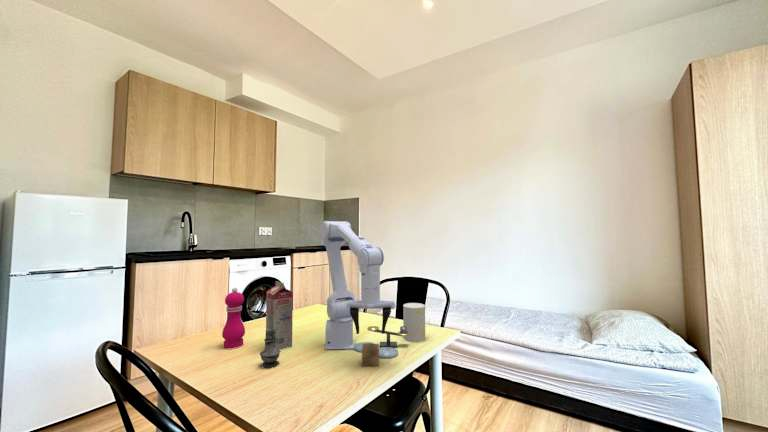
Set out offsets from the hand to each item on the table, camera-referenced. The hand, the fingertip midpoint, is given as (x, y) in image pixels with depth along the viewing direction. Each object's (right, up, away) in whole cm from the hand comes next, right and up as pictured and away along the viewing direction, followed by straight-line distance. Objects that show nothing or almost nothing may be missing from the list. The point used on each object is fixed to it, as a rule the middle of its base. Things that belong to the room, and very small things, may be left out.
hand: (370, 332), depth 94 cm
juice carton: (-32, -10, +14) cm, 37 cm away
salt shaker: (-30, -9, -1) cm, 31 cm away
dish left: (-2, -10, +11) cm, 15 cm away
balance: (+6, -10, +14) cm, 18 cm away
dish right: (+5, -9, +7) cm, 12 cm away
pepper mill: (-48, -10, +14) cm, 51 cm away
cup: (+15, -10, +22) cm, 29 cm away
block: (0, -9, 0) cm, 9 cm away
